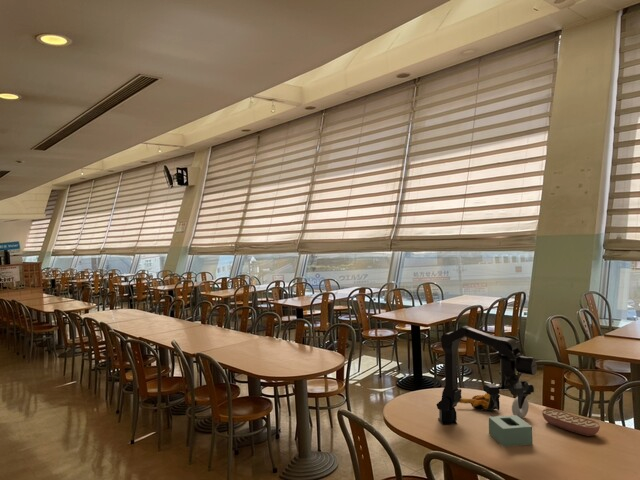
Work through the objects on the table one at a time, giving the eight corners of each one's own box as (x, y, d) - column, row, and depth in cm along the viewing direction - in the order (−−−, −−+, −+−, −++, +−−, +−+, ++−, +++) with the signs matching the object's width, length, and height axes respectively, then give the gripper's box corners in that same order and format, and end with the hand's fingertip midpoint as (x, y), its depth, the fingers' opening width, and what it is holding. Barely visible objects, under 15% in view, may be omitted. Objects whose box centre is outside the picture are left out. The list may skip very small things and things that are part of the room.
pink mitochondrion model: (604, 435, 189) (604, 423, 189) (591, 442, 184) (591, 429, 183) (549, 418, 208) (549, 407, 208) (537, 423, 203) (536, 412, 203)
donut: (517, 422, 204) (516, 399, 204) (510, 419, 207) (509, 397, 207) (530, 416, 210) (530, 394, 210) (523, 414, 213) (523, 392, 213)
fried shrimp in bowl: (503, 405, 213) (464, 392, 215) (494, 422, 217) (456, 409, 219) (501, 391, 221) (463, 378, 223) (492, 408, 226) (455, 395, 228)
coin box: (503, 446, 181) (502, 428, 181) (489, 433, 193) (488, 416, 193) (532, 444, 183) (532, 426, 183) (516, 431, 195) (516, 415, 194)
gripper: (495, 378, 179) (496, 418, 179) (541, 375, 181) (542, 415, 181) (482, 369, 190) (483, 408, 190) (526, 367, 192) (527, 405, 192)
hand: (509, 409), depth 188 cm, fingers open, 9 cm apart
